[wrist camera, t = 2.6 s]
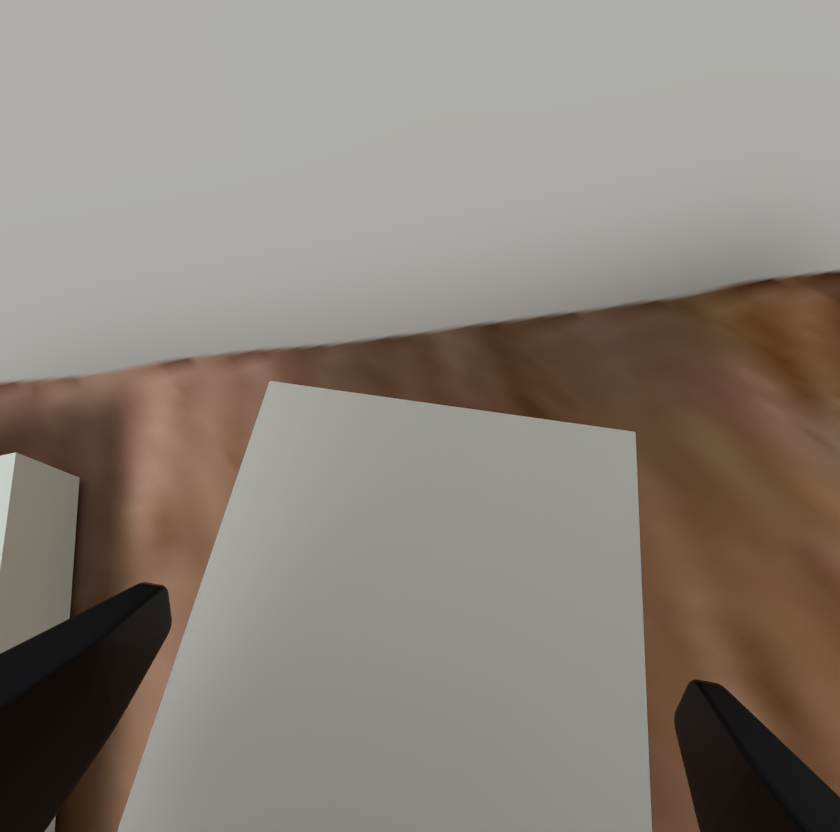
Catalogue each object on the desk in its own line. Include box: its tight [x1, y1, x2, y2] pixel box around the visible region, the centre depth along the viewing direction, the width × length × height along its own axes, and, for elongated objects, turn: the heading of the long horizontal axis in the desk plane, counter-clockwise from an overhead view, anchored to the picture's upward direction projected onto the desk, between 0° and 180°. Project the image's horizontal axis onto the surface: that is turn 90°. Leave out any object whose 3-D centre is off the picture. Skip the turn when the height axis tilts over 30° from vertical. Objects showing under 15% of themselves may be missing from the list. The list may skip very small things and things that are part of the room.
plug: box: [117, 381, 652, 832], centre depth 10 cm, size 4×4×13 cm
